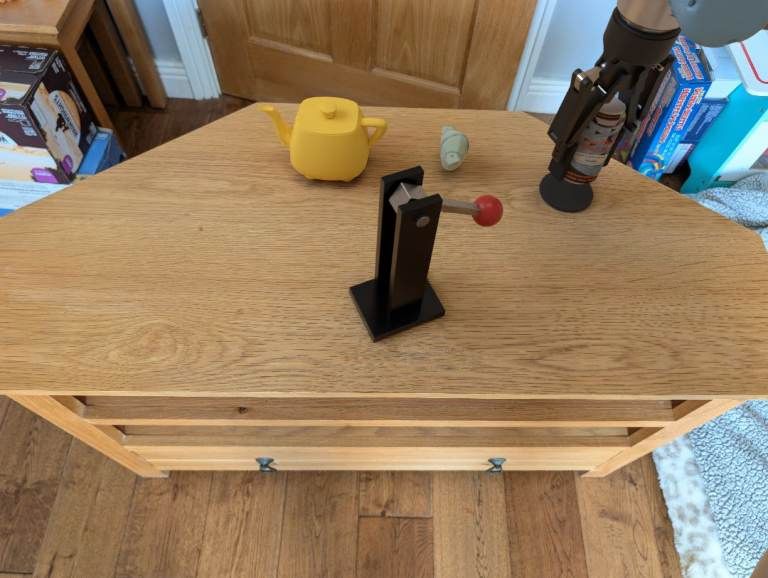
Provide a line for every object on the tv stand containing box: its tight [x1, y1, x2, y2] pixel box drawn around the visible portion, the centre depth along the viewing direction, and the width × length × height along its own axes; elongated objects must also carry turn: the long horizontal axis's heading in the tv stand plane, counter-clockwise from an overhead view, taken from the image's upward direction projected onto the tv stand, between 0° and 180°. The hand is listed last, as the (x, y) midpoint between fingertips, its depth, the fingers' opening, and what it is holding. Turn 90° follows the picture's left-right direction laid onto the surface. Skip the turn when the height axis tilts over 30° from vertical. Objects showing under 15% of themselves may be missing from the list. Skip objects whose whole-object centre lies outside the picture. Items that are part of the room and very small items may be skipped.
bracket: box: [348, 164, 447, 343], centre depth 63 cm, size 10×8×22 cm
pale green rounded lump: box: [439, 125, 470, 171], centre depth 83 cm, size 8×4×7 cm, turn 3°
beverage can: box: [564, 92, 626, 184], centre depth 76 cm, size 6×7×12 cm
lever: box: [389, 183, 504, 228], centre depth 59 cm, size 15×4×4 cm
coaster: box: [538, 172, 594, 214], centre depth 84 cm, size 8×8×1 cm
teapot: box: [257, 96, 389, 182], centre depth 81 cm, size 18×11×11 cm, turn 88°
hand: (577, 167), depth 80 cm, fingers closed on beverage can, 7 cm apart
